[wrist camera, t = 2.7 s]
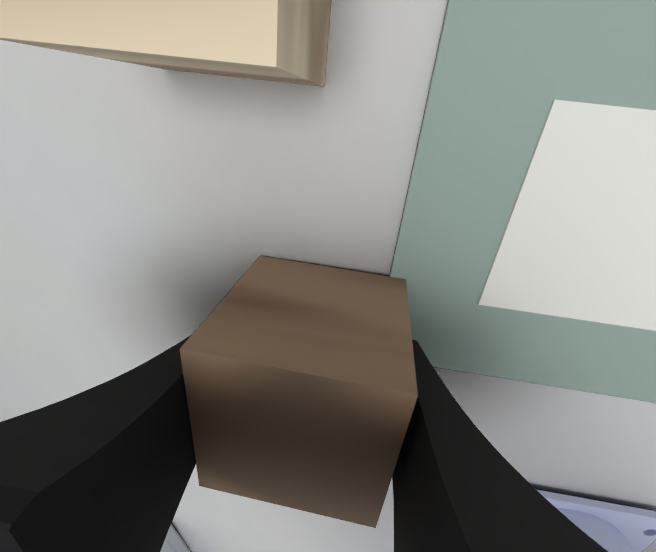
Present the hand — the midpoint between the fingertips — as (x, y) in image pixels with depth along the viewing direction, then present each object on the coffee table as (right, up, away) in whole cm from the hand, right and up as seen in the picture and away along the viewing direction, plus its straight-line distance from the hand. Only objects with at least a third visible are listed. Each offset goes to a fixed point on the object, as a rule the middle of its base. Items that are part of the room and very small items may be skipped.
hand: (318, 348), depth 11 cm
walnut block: (0, +1, +1) cm, 1 cm away
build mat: (+9, +4, -2) cm, 10 cm away
